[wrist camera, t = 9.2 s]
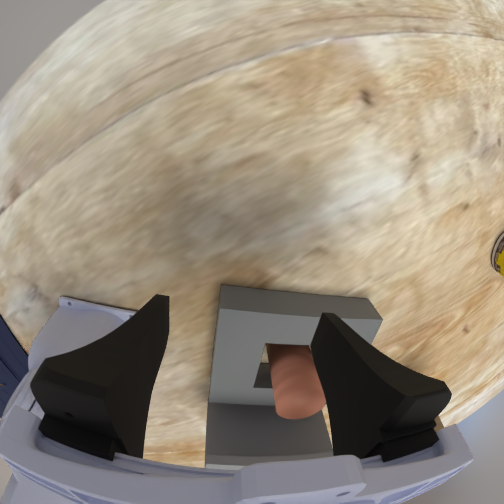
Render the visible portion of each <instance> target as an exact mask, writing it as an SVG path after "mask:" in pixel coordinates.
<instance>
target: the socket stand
mask: <svg viewBox="0 0 504 504" xmlns="http://www.w3.org/2000/svg"><path fill="white" fill-rule="evenodd" d="M322 312H326V313H334V314H336V315H337V316H338V317H339V318H341V319H342V320H343V321H344V322H345V323H346V324H347V325H349V326H350V327H351V328H352V329H353V330H354V331H355V332H356V333H358V334H359V335H360V336H361V337H362V338H363V339H365V340H366V341H367V342H368V343H370V344H371V343H372V342H373V340H374V338H375V336H376V333H377V331H378V329H379V327H380V325H381V323H382V321H383V319H382V317H381V316H380V315H379V313H378V312H377V310H376V309H375V308H374V306H373V305H372V303H371V302H370V301H369V299H366V298H352V297H339V296H327V295H316V294H305V293H294V292H284V291H274V290H265V289H255V288H246V287H238V286H229V285H221V291H220V299H219V307H218V315H217V323H216V331H215V340H214V349H213V357H212V366H211V376H210V391H209V398H208V407H207V426H206V447H205V468H208V469H222V470H240V469H241V468H243V467H245V466H249V465H252V464H256V463H265V462H277V461H295V460H307V459H317V458H325V457H333V448H332V445H331V441H330V437H329V434H328V430H327V427H326V423H325V420H324V416H323V413H322V409H321V410H320V411H319V412H317V413H315V414H314V415H311V416H309V417H306V418H302V419H286V418H283V417H281V416H279V415H278V414H277V412H276V407H275V400H274V393H273V387H272V380H271V374H270V367H269V364H268V363H260V361H261V357H262V354H263V350H264V346H265V343H274V344H292V345H311V342H312V339H313V336H314V334H315V331H316V328H317V326H318V323H319V320H320V317H321V314H322ZM311 355H312V350H311ZM312 358H313V356H312ZM325 404H327V403H325Z"/></svg>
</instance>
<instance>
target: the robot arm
mask: <svg viewBox="0 0 504 504" xmlns="http://www.w3.org/2000/svg"><path fill="white" fill-rule="evenodd" d="M59 305H60V306H59V307H58V309H57V310H56V311H55V312H54V314H53V315H52V316H51V318H50V319H49V320H48V321H47V323H46V324H45V325H44V327H43V328H42V329H41V331H40V332H39V333H38V335H37V336H36V337H35V339H34V341H33V343H32V345H31V348H30V351H29V357H28V367H29V372H28V373H27V374H26V375H25V377H24V378H23V379H22V381H21V382H20V384H19V385H18V387H17V388H16V390H15V391H14V393H13V395H12V396H11V398H10V400H9V402H8V404H7V406H6V408H5V410H4V412H3V416H2V418H1V420H0V457H1V458H2V459H3V460H4V461H6V462H7V464H8V466H9V467H10V469H11V471H12V476H11V478H10V480H9V482H8V484H7V486H6V489H5V491H4V493H3V496H2V498H1V500H0V504H399V503H402V502H404V501H407V500H409V499H411V498H413V497H415V496H418V495H420V494H422V493H424V492H426V491H428V490H430V489H432V488H434V487H436V486H438V485H440V484H442V483H443V482H445V481H446V480H448V479H449V478H451V477H452V476H453V475H455V474H456V473H457V472H459V471H460V470H461V469H463V468H464V467H465V466H467V465H468V464H469V463H470V462H471V461H473V460H474V457H473V454H472V453H471V451H470V449H469V447H468V445H467V443H466V441H465V440H464V438H463V436H462V434H461V432H460V431H459V429H458V427H457V425H456V424H453V425H450V426H448V427H445V428H442V429H440V430H439V431H437V432H435V430H434V428H435V427H436V425H437V424H436V422H435V420H434V419H435V418H436V417H437V416H438V415H439V414H440V413H441V412H442V410H443V409H444V408H445V407H446V406H447V404H448V403H449V401H450V399H451V395H452V393H451V391H450V390H449V388H448V387H447V385H446V384H445V382H444V381H441V380H438V379H434V378H431V377H428V376H425V375H423V374H420V373H418V372H415V371H413V370H411V369H409V368H407V367H405V366H403V365H401V364H399V363H397V362H396V361H394V360H392V359H391V358H389V357H388V356H386V355H384V354H383V353H381V352H380V351H379V350H377V349H376V348H375V347H373V346H372V345H371V344H370V343H368V342H367V341H366V340H365V339H363V338H362V337H361V336H360V335H359V334H358V333H356V332H355V331H354V330H353V329H352V328H351V327H350V326H349V325H347V324H346V323H345V322H344V321H343V320H342V319H341V318H339V317H338V316H337V315H336V314H334V313H326V312H322V314H321V317H320V320H319V323H318V326H317V328H316V331H315V334H314V336H313V339H312V342H311V350H312V356H313V361H314V365H315V368H316V371H317V374H318V377H319V380H320V383H321V386H322V389H323V392H324V395H325V399H326V403H327V408H328V413H329V419H330V426H331V434H332V444H333V457H325V458H317V459H307V460H295V461H277V462H265V463H256V464H252V465H249V466H245V467H243V468H241V469H240V470H222V469H208V468H197V467H189V466H181V465H174V464H168V463H162V462H156V461H151V460H146V459H143V449H144V440H145V431H146V424H147V417H148V411H149V405H150V399H151V394H152V390H153V386H154V383H155V380H156V377H157V374H158V371H159V368H160V365H161V362H162V358H163V355H164V352H165V349H166V345H167V340H168V335H169V296H165V295H158V294H156V295H155V296H154V297H153V298H152V299H151V300H150V301H148V302H147V303H146V304H145V305H144V306H143V307H142V308H141V309H140V310H139V311H138V312H135V311H130V310H124V309H119V308H114V307H109V306H104V305H99V304H94V303H90V302H85V301H81V300H76V299H72V298H68V297H63V296H61V297H60V298H59ZM131 315H132V317H131Z"/></svg>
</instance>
